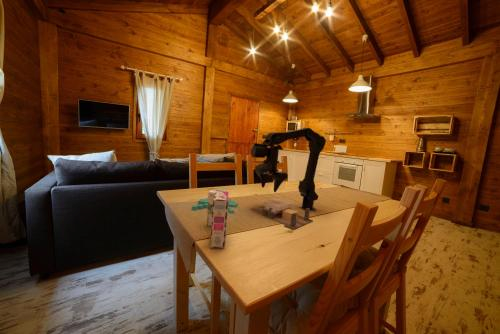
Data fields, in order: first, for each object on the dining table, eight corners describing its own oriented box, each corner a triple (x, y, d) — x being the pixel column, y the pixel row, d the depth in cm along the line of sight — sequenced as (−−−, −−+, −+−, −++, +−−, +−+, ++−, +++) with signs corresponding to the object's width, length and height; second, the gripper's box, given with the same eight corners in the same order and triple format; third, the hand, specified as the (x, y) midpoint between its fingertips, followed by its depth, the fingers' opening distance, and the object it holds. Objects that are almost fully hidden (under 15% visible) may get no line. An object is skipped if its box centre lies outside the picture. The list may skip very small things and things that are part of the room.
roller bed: (268, 205, 121) (269, 194, 120) (312, 221, 102) (314, 209, 101) (247, 210, 109) (248, 199, 109) (293, 230, 91) (294, 216, 90)
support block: (288, 215, 105) (288, 208, 105) (297, 219, 102) (298, 211, 101) (282, 218, 102) (282, 210, 101) (291, 221, 98) (292, 213, 98)
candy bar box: (225, 249, 72) (228, 200, 70) (209, 248, 71) (212, 199, 69) (226, 233, 83) (228, 191, 81) (212, 233, 82) (215, 190, 80)
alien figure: (233, 215, 103) (239, 203, 122) (233, 211, 102) (239, 199, 122) (191, 211, 105) (204, 199, 124) (191, 206, 104) (204, 195, 124)
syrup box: (225, 224, 92) (227, 190, 89) (218, 229, 86) (221, 193, 84) (213, 221, 93) (215, 188, 91) (206, 226, 88) (207, 191, 86)
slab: (276, 202, 113) (276, 198, 113) (291, 207, 107) (291, 203, 106) (263, 205, 106) (264, 201, 105) (278, 211, 100) (279, 206, 99)
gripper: (247, 155, 110) (244, 186, 112) (271, 161, 95) (268, 196, 97) (265, 156, 116) (262, 185, 118) (290, 161, 101) (286, 194, 103)
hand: (268, 189), depth 109 cm, fingers open, 9 cm apart
